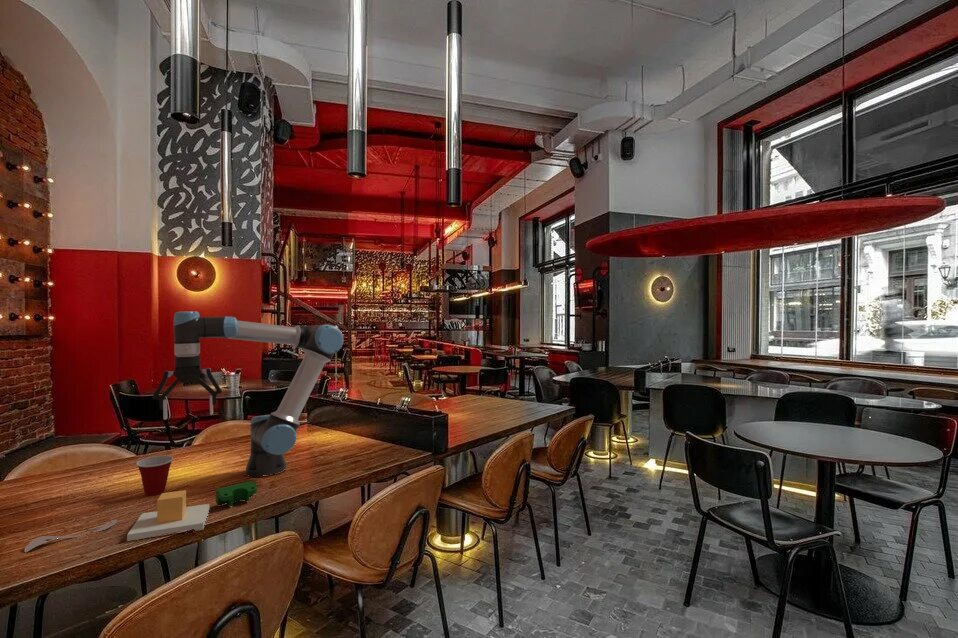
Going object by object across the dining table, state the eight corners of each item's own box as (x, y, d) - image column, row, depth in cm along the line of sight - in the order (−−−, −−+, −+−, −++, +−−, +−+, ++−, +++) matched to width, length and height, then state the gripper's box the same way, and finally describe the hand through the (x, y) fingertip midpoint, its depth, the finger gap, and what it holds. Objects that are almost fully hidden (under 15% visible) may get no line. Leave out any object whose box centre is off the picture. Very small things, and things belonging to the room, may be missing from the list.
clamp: (226, 521, 148) (216, 501, 144) (220, 512, 152) (210, 492, 148) (262, 499, 155) (254, 479, 152) (256, 490, 159) (248, 471, 156)
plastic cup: (132, 500, 155) (133, 465, 155) (139, 490, 164) (139, 457, 164) (170, 495, 160) (171, 461, 160) (174, 485, 169) (175, 453, 169)
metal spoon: (114, 511, 137) (119, 515, 134) (115, 522, 137) (120, 526, 134) (21, 540, 121) (24, 545, 118) (22, 553, 121) (25, 558, 118)
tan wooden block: (185, 512, 140) (186, 490, 140) (182, 520, 134) (182, 496, 134) (161, 515, 137) (162, 493, 137) (157, 523, 131) (157, 500, 132)
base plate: (210, 509, 147) (210, 486, 147) (203, 529, 132) (203, 503, 132) (142, 519, 139) (142, 494, 139) (127, 542, 125) (127, 514, 125)
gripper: (141, 358, 149) (142, 423, 149) (228, 354, 160) (229, 414, 160) (145, 357, 156) (147, 419, 155) (228, 353, 167) (230, 410, 167)
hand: (188, 416), depth 158 cm, fingers open, 13 cm apart
